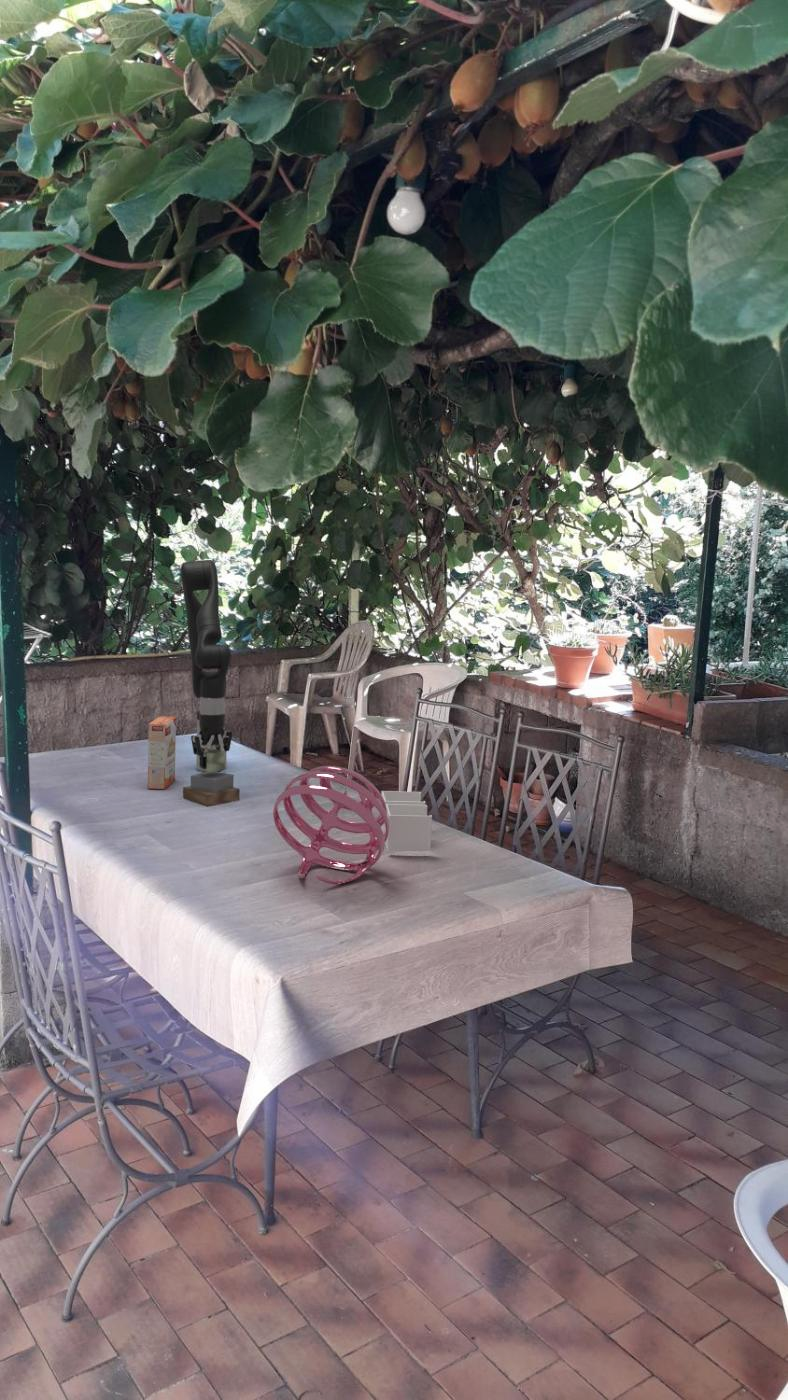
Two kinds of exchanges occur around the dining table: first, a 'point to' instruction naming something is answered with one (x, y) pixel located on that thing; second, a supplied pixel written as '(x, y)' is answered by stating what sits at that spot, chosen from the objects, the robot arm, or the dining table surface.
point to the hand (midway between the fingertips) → (211, 766)
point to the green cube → (214, 760)
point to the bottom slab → (211, 796)
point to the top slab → (212, 781)
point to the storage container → (407, 822)
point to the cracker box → (161, 752)
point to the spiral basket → (334, 820)
